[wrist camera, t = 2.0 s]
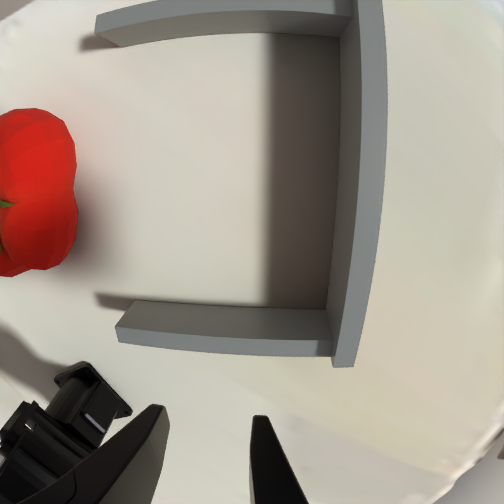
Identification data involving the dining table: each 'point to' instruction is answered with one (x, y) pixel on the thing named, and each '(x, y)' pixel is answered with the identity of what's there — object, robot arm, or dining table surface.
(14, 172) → the tomato
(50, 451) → the robot arm
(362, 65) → the u-shaped frame
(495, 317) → the dining table surface
